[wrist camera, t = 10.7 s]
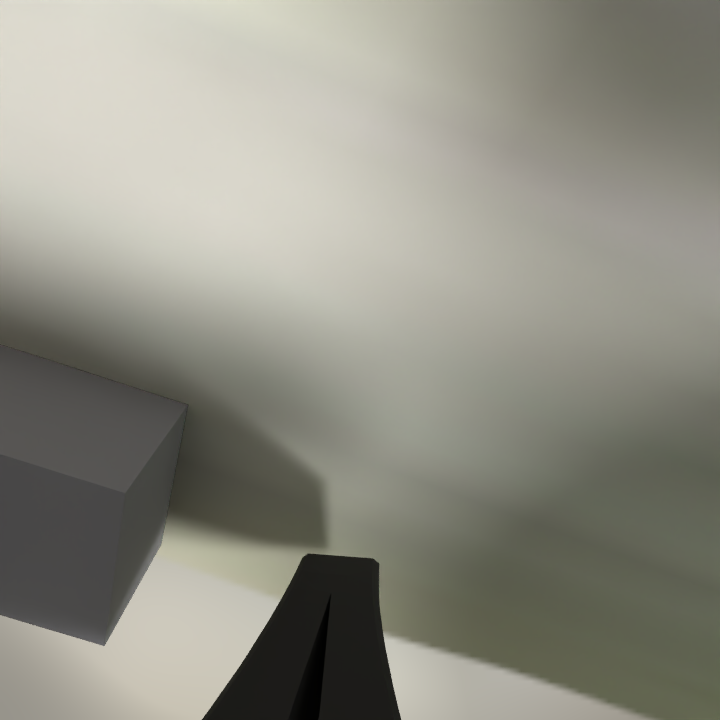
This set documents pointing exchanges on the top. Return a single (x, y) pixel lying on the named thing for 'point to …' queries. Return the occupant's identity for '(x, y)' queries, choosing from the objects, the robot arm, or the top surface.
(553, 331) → the top surface
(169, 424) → the grey notched block
